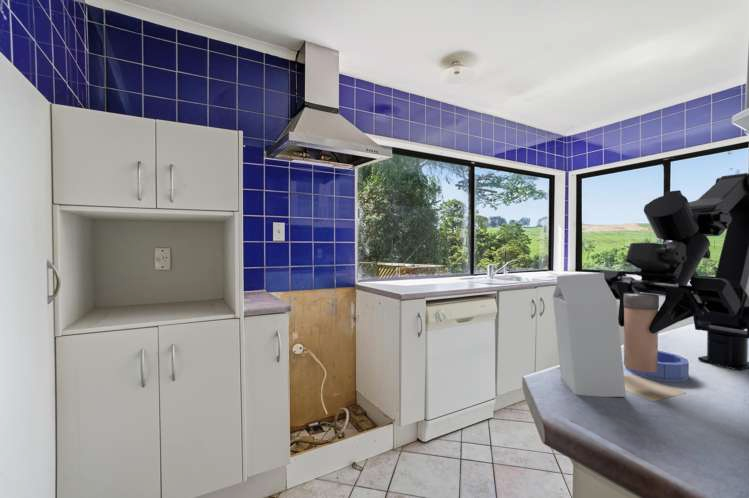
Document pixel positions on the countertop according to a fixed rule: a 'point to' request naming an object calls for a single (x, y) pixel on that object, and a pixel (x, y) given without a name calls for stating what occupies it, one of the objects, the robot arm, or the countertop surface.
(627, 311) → the spice jar
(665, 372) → the bowl
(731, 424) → the countertop surface
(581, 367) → the milk carton
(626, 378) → the cork mat
